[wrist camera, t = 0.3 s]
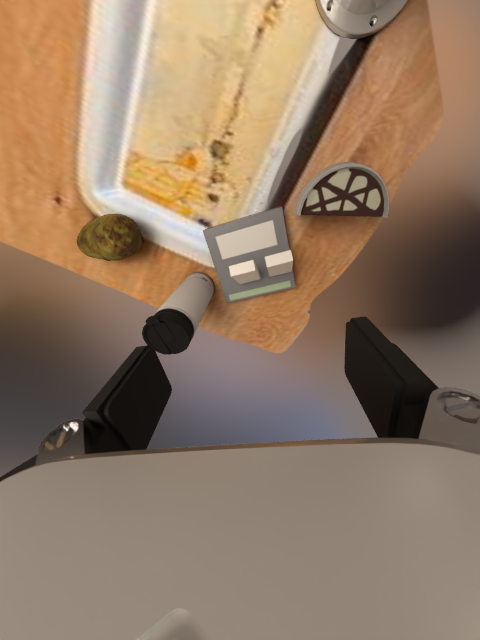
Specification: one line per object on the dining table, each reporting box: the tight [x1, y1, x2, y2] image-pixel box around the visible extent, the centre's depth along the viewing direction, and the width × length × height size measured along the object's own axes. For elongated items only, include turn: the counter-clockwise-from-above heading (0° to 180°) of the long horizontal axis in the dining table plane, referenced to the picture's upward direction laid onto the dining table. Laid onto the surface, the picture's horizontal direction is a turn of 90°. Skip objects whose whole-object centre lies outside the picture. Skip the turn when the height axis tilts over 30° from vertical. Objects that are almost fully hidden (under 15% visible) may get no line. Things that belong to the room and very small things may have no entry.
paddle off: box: [265, 250, 293, 277], centre depth 36 cm, size 2×4×8 cm, turn 106°
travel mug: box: [142, 272, 214, 354], centre depth 37 cm, size 6×7×20 cm
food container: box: [293, 162, 389, 218], centre depth 32 cm, size 12×6×10 cm, turn 89°
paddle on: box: [229, 260, 262, 284], centre depth 37 cm, size 2×4×8 cm, turn 106°
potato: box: [77, 214, 144, 261], centre depth 38 cm, size 8×13×8 cm, turn 83°
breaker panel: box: [203, 206, 295, 303], centre depth 41 cm, size 14×14×3 cm
